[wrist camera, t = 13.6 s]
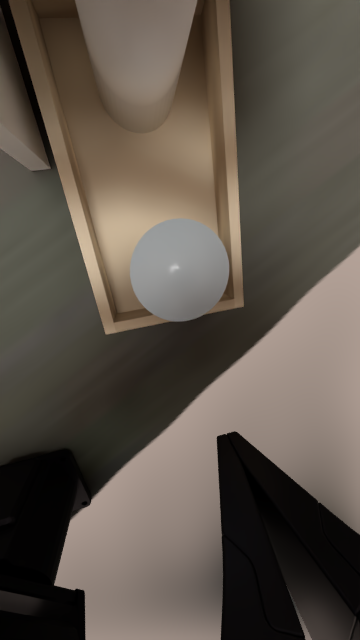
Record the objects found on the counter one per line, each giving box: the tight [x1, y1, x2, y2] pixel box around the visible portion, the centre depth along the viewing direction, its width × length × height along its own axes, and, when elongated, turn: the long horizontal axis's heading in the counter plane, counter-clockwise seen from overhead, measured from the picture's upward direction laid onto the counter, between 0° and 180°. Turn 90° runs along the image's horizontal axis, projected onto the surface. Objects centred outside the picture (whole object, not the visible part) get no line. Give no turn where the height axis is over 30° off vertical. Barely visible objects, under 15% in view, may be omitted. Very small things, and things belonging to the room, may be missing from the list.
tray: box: [8, 0, 244, 334], centre depth 12 cm, size 15×9×2 cm, turn 8°
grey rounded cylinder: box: [130, 218, 229, 322], centre depth 11 cm, size 4×4×6 cm
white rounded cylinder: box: [75, 0, 197, 133], centre depth 8 cm, size 4×4×6 cm
